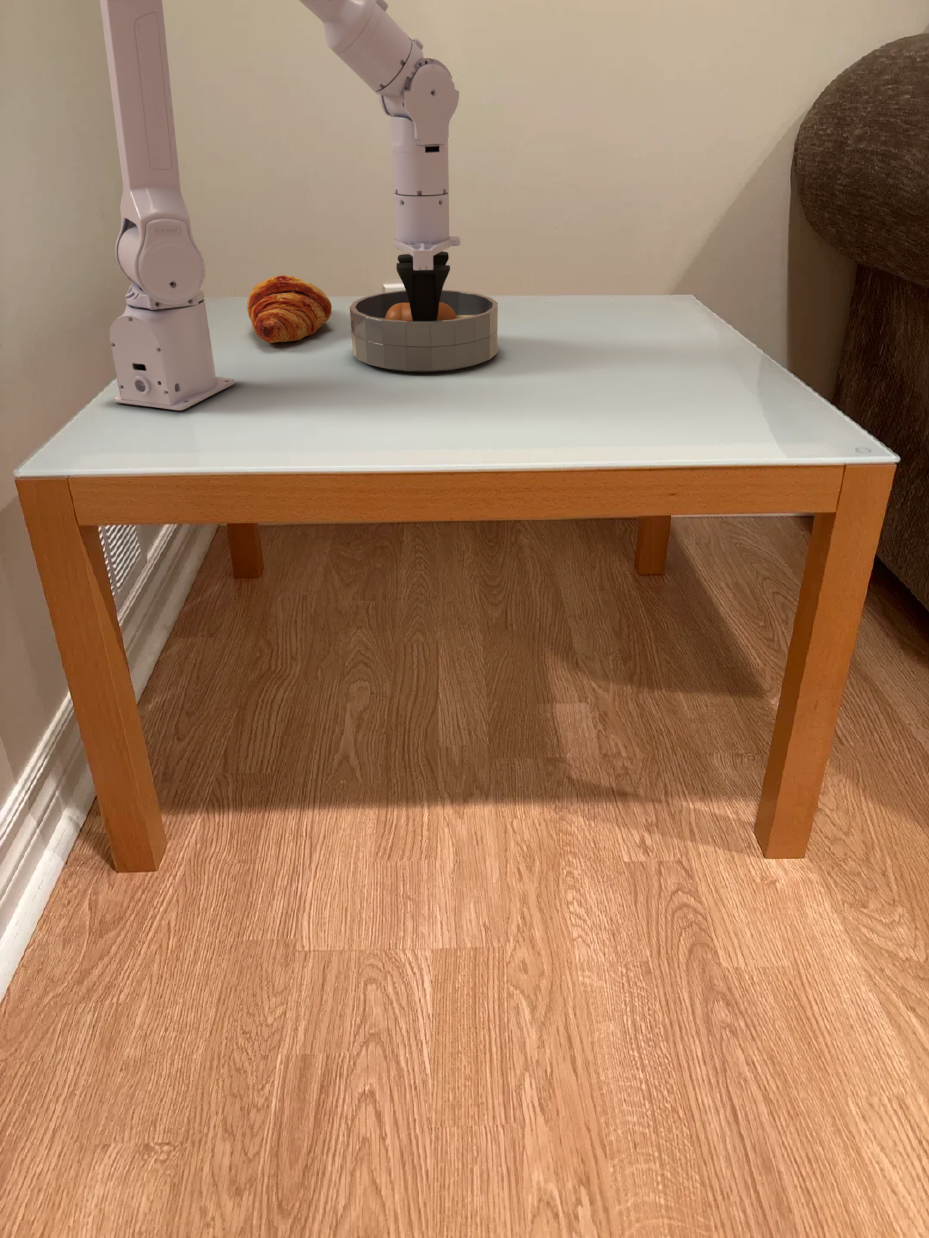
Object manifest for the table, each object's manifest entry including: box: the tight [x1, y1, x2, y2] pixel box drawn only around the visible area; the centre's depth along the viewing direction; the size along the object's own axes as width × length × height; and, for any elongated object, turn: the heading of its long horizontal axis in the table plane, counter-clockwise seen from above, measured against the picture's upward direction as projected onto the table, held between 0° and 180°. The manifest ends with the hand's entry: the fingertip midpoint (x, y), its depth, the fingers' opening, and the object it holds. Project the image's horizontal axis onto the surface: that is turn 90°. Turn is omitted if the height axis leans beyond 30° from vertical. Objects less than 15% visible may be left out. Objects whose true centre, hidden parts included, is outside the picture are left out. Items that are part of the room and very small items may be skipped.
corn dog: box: [385, 302, 475, 321], centre depth 102 cm, size 11×4×4 cm, turn 92°
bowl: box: [349, 289, 499, 373], centre depth 103 cm, size 16×16×6 cm
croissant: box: [246, 274, 333, 344], centre depth 113 cm, size 21×10×8 cm, turn 178°
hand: (425, 326), depth 102 cm, fingers closed on corn dog, 4 cm apart
